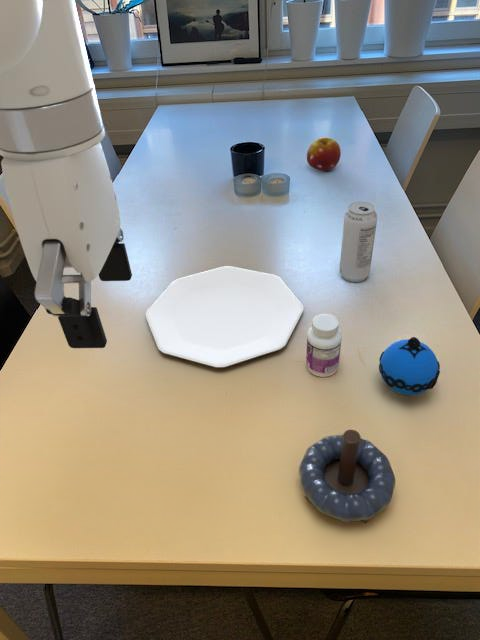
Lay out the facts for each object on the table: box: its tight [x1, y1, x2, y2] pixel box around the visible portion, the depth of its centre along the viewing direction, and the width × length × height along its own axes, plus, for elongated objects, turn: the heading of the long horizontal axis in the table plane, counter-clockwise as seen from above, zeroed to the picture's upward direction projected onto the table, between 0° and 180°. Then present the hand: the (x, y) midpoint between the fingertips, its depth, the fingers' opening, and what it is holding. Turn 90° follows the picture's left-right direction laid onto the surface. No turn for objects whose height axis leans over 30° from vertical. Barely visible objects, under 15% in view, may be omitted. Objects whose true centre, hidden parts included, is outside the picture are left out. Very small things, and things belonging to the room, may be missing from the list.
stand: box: [304, 429, 370, 524], centre depth 60 cm, size 8×8×10 cm
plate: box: [144, 265, 304, 369], centre depth 91 cm, size 28×28×2 cm
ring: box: [298, 434, 396, 523], centre depth 62 cm, size 12×12×3 cm
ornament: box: [378, 336, 441, 396], centre depth 73 cm, size 9×9×10 cm
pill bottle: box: [305, 313, 343, 378], centre depth 77 cm, size 5×5×10 cm
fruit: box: [306, 136, 342, 172], centre depth 138 cm, size 10×9×8 cm
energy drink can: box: [339, 201, 378, 283], centre depth 94 cm, size 6×6×15 cm
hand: (103, 309), depth 45 cm, fingers open, 9 cm apart
